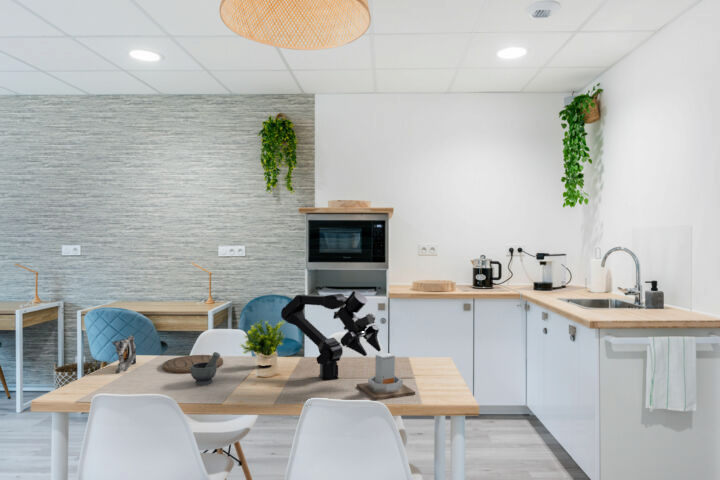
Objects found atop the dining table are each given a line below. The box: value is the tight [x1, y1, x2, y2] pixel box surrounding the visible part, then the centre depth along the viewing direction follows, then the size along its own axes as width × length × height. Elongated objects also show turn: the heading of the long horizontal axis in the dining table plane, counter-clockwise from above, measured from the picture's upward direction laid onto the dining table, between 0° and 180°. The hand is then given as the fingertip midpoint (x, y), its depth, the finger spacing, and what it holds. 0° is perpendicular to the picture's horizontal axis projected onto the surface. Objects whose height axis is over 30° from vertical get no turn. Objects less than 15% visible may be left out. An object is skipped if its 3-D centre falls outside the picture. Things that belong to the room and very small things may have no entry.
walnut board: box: [356, 382, 416, 401], centre depth 167 cm, size 16×16×1 cm
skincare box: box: [374, 352, 396, 384], centre depth 167 cm, size 6×4×12 cm
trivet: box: [162, 354, 224, 374], centre depth 200 cm, size 25×25×2 cm
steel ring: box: [367, 375, 404, 393], centre depth 167 cm, size 12×12×3 cm
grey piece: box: [112, 334, 137, 374], centre depth 194 cm, size 15×4×13 cm, turn 7°
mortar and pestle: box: [190, 351, 221, 387], centre depth 174 cm, size 11×9×12 cm
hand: (373, 353), depth 170 cm, fingers open, 9 cm apart
